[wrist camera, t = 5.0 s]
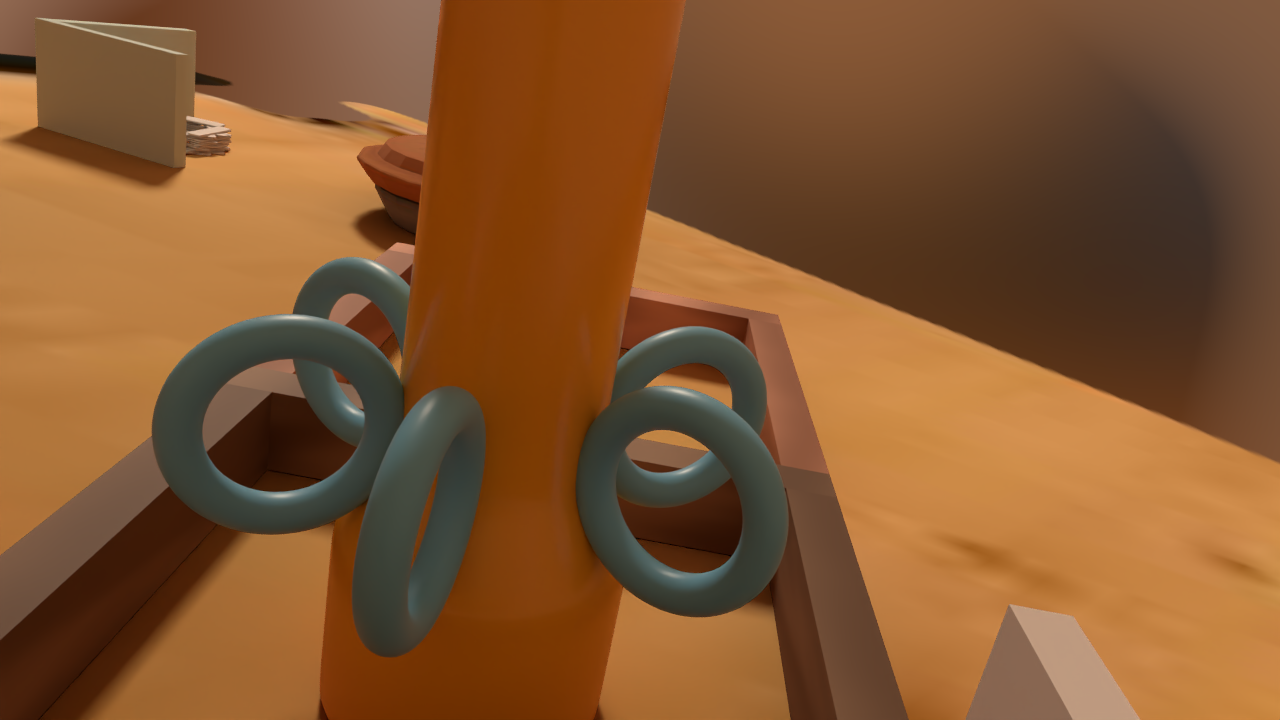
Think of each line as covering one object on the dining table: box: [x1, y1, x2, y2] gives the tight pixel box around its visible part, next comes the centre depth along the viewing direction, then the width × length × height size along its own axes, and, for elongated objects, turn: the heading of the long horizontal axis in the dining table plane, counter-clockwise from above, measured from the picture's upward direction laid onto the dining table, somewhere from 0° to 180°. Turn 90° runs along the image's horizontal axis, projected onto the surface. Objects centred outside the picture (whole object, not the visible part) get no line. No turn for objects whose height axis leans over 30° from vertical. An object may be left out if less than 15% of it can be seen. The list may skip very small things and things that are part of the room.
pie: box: [357, 135, 427, 234], centre depth 59 cm, size 16×16×5 cm
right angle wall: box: [35, 18, 232, 168], centre depth 66 cm, size 12×12×8 cm
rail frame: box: [0, 242, 908, 720], centre depth 29 cm, size 18×34×2 cm, turn 178°
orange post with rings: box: [152, 0, 789, 720], centre depth 18 cm, size 12×10×15 cm
